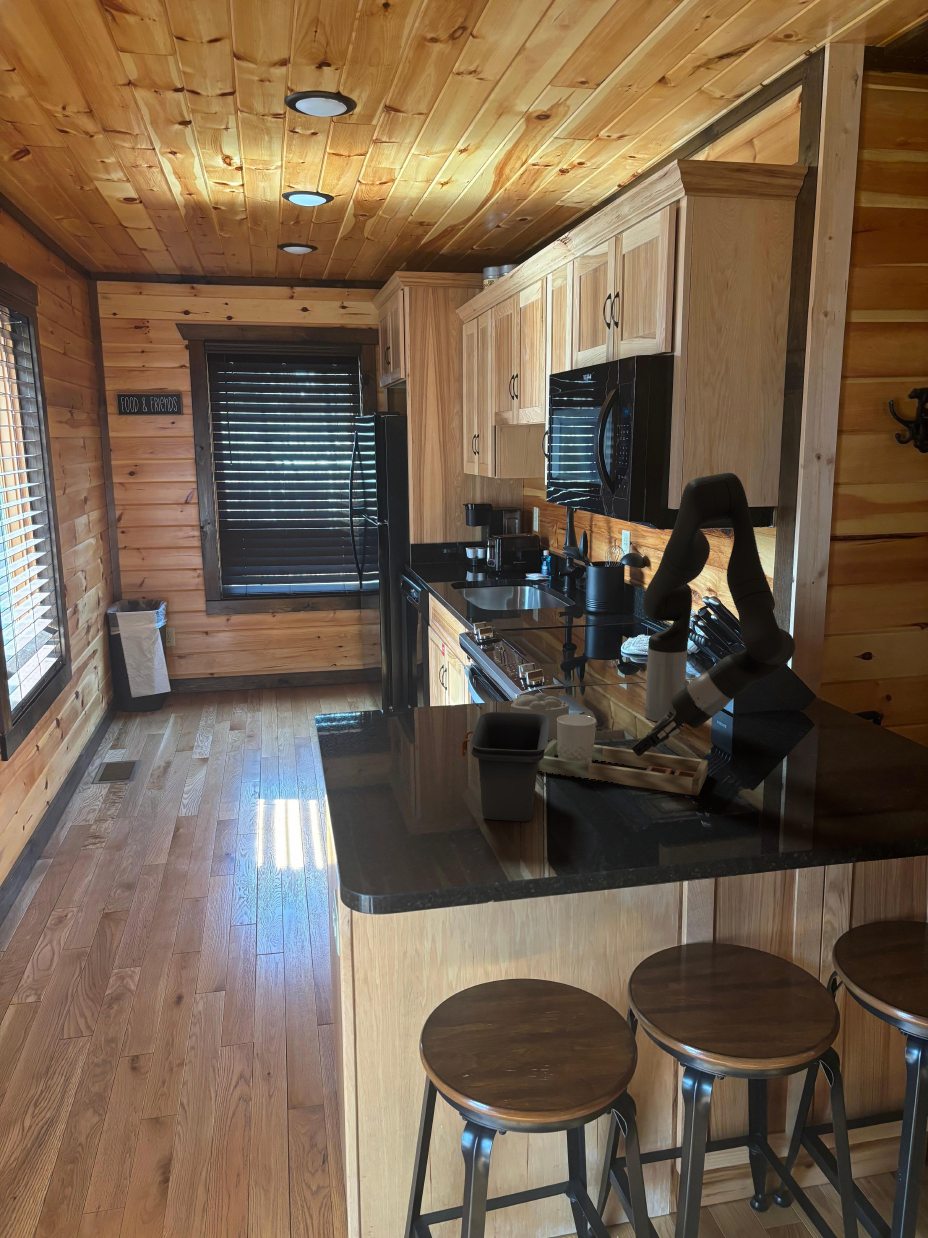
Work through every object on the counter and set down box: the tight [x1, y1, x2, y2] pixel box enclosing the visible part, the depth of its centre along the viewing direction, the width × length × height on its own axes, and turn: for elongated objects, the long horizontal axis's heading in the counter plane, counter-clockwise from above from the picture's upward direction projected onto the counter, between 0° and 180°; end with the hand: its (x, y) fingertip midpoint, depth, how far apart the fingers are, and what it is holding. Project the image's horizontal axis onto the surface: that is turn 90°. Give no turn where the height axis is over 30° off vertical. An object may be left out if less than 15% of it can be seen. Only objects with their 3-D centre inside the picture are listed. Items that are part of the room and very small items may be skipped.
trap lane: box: [537, 739, 709, 797], centre depth 179 cm, size 32×12×3 cm, turn 67°
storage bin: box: [461, 711, 550, 822], centre depth 162 cm, size 21×16×14 cm
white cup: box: [557, 713, 597, 763], centre depth 182 cm, size 8×8×10 cm
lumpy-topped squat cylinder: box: [510, 692, 570, 739], centre depth 204 cm, size 10×13×9 cm
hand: (635, 751), depth 177 cm, fingers closed
